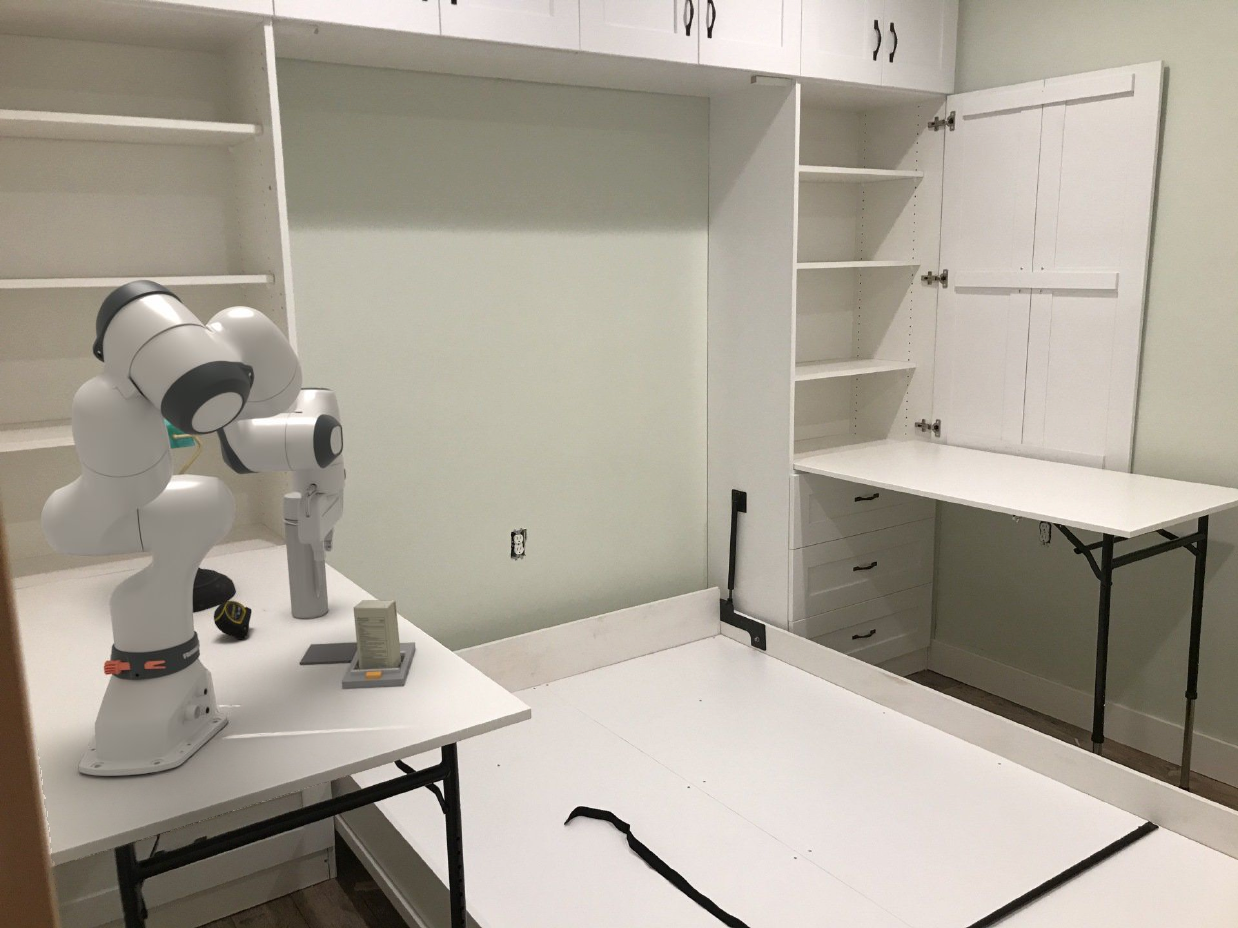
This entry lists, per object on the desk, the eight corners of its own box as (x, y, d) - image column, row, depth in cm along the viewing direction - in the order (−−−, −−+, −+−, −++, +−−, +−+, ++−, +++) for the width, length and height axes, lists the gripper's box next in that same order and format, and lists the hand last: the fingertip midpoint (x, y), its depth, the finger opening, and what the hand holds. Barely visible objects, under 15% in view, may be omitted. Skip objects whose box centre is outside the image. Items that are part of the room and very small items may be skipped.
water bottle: (283, 615, 199) (274, 495, 195) (319, 606, 205) (310, 488, 200) (305, 625, 193) (295, 501, 188) (341, 616, 198) (333, 495, 194)
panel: (403, 685, 163) (402, 675, 163) (342, 688, 162) (341, 678, 162) (415, 648, 180) (414, 639, 180) (359, 650, 179) (359, 641, 179)
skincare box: (402, 666, 172) (398, 599, 169) (393, 676, 167) (389, 607, 165) (366, 665, 172) (362, 598, 170) (357, 674, 168) (352, 606, 166)
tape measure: (239, 645, 186) (251, 633, 185) (206, 629, 183) (218, 617, 182) (244, 620, 192) (256, 608, 191) (213, 604, 188) (224, 592, 187)
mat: (351, 662, 174) (351, 660, 174) (299, 664, 173) (299, 662, 173) (360, 644, 182) (360, 641, 182) (311, 646, 182) (310, 644, 182)
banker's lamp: (103, 597, 212) (82, 414, 205) (211, 576, 227) (195, 404, 220) (140, 628, 193) (118, 427, 185) (256, 602, 208) (240, 415, 200)
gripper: (324, 490, 162) (330, 571, 164) (347, 467, 182) (352, 539, 184) (285, 492, 161) (291, 572, 164) (312, 468, 181) (317, 541, 184)
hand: (323, 555), depth 174 cm, fingers open, 5 cm apart
